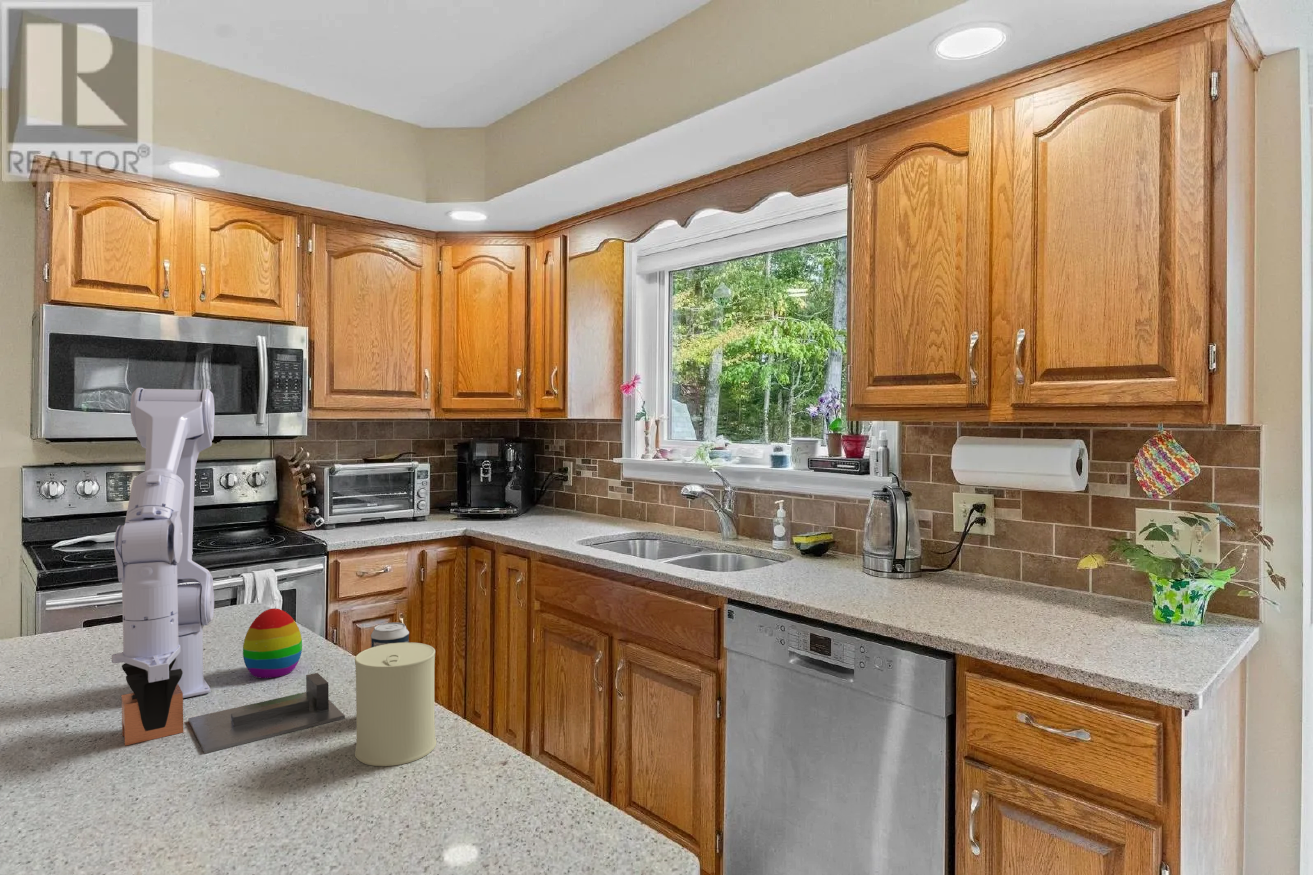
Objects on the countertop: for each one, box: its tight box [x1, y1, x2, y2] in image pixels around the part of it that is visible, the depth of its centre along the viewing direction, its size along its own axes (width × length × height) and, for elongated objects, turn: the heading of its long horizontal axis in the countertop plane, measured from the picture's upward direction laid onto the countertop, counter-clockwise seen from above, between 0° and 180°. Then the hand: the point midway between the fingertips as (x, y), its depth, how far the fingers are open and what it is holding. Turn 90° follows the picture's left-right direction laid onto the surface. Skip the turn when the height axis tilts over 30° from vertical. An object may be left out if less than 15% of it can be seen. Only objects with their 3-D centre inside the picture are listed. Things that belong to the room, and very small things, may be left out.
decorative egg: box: [242, 607, 303, 679], centre depth 115 cm, size 8×8×10 cm
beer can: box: [370, 622, 410, 648], centre depth 99 cm, size 5×5×12 cm
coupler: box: [187, 672, 346, 754], centre depth 97 cm, size 12×16×4 cm
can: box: [354, 641, 437, 767], centre depth 89 cm, size 9×9×12 cm
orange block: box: [120, 684, 184, 747], centre depth 93 cm, size 4×6×5 cm, turn 130°
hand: (152, 722), depth 93 cm, fingers closed on orange block, 4 cm apart
